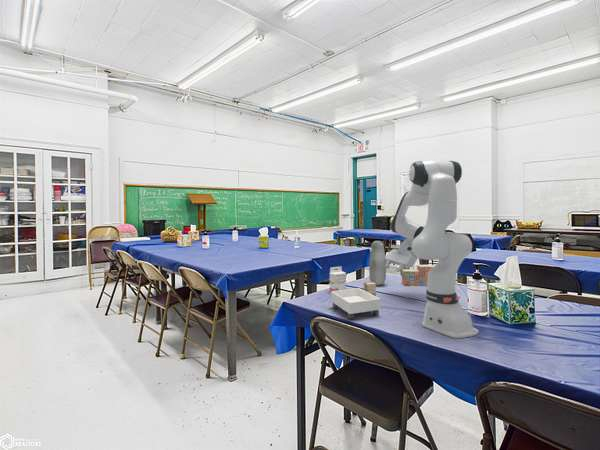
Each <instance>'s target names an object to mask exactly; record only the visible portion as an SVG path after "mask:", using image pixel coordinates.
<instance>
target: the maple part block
mask: <svg viewBox="0 0 600 450" xmlns="http://www.w3.org/2000/svg"><path fill="white" fill-rule="evenodd" d="M363 290H364V291H366V292H368V293H370V294H372V295H374V296H376V297H377V285H376V283H374V282H371V281H364V282H363Z"/></svg>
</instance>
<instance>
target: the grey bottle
mask: <svg viewBox="0 0 600 450" xmlns="http://www.w3.org/2000/svg"><path fill="white" fill-rule="evenodd" d="M370 248H371V249H370V253H369V254H370V255H369V259H368V260H369V261H368V270H369V273H368V274H369V282H374V283H376V286H381V285H383V284H385V282H386V279H387V269H386V268H385V266H386V264H387V260H386V259H385V257H386V254H385V245H384V242H383V241H381V240H374V241H373V242H372V243H371V247H370Z"/></svg>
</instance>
